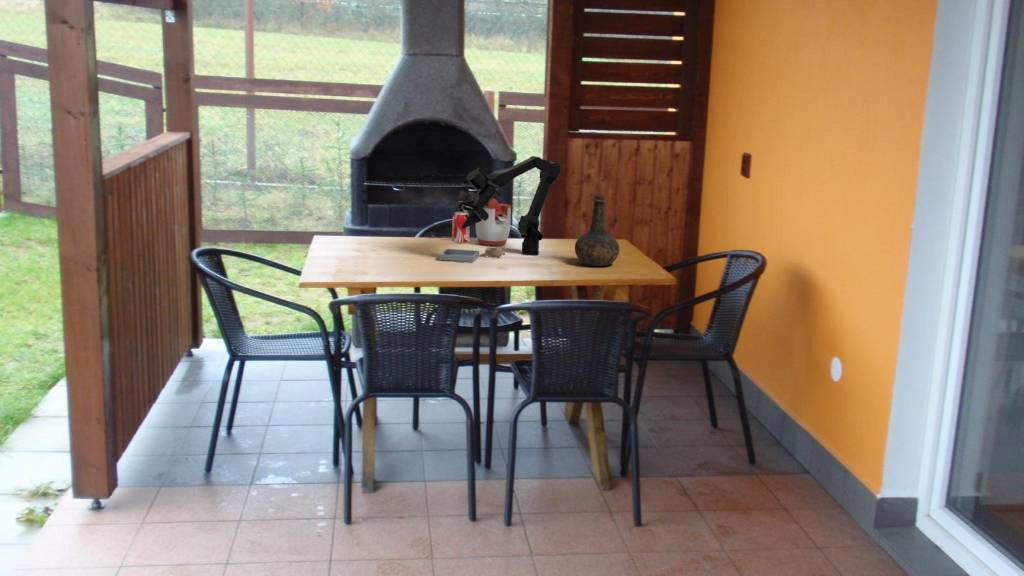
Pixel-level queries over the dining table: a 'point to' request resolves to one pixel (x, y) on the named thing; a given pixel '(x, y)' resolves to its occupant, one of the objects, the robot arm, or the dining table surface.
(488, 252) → the brown block with knob
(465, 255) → the slate tray
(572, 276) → the dining table surface
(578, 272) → the dining table surface
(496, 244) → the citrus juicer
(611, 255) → the glass bottle
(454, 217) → the soda can
